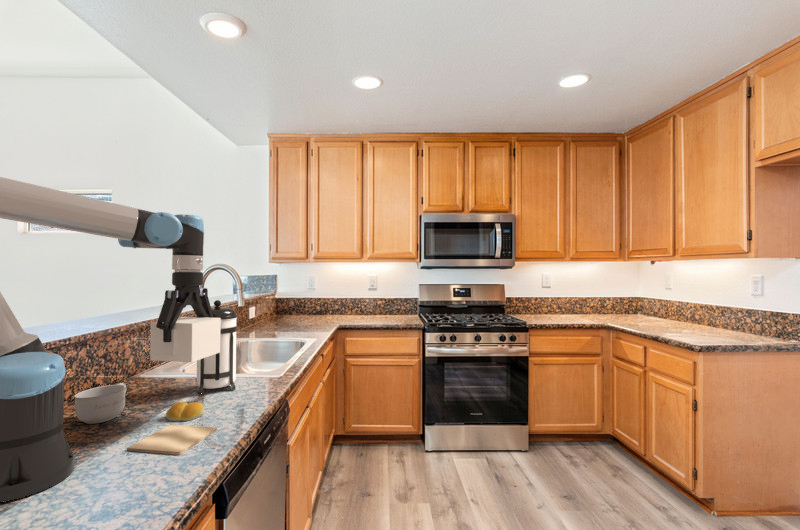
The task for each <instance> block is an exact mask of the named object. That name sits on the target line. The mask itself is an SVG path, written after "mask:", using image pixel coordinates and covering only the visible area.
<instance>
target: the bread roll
mask: <svg viewBox="0 0 800 530" xmlns="http://www.w3.org/2000/svg"><path fill="white" fill-rule="evenodd" d="M204 413H205V406H204V404H203V403H201V402H198V401H197V402H196V401H195V402H193V401H192V402H189V403H187V402H185V401H177V402H175V403H174V404H172V405H171V406H170V407H169V409H167V410H166V413H165V417H166V419H167V420H168V421H170V420H171V422H181V421H183V422H187V421H188V420H189V421H192V419H193V420H195V419H198V418H200V417H202V416H203V415H204Z"/></svg>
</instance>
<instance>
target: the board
mask: <svg viewBox="0 0 800 530" xmlns="http://www.w3.org/2000/svg"><path fill="white" fill-rule="evenodd" d="M216 431H218V427H216V426H215V427H214V426H213V427H212V426H199V425H187V424H186V425H184V424H172V423H171V424H169V425H167V426H165V427H163V428H161V429H159V430H158V431H156V432H154V433H152V434H150V435H148V436H147V437H144V438H143V439H141V440H139V441H137V442H135V443H134V444H132V445H130V446H129V447H127V448H126V451H127V452H128V451H130V452H141V453H154V454H163V455H164V454H165V455H174V456H175V455H178V456H180V455H182V454H183V453H185V452H187V451H188V450H190V449H191V448H192V447H194V446H196V445H197V444H198V443H200V442H202V441H203V440H204V439H206V438H207V437H209V436H211V434H213V433H215V432H216Z"/></svg>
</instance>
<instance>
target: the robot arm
mask: <svg viewBox="0 0 800 530" xmlns="http://www.w3.org/2000/svg"><path fill="white" fill-rule="evenodd" d="M0 219H2V220H3V219H4V220H8V221H13V222H21V223H25V224H31V225H37V226H43V227H48V228H55V229H61V230H64V231H65V230H66V231H71V232H76V233H83V234H89V235H95V236H100V237H105V238H112V239H116V240H117V242H118V244H119V245H120V246H121V247H123V248H132V249H165V250H172V253H171V254H172V258H171V260H172V262H171V269H172V270H173V272H172V273H171V285H173V286H174V290H172V289H171V290H169V289H168V290H165V292H164V301H163V302H162V303H163V304H162V306H161V309H160V313H159V316H158V319H157V320H156V321H157V324H156V327H157V328H159V329H163V342H164V354H165V355H175V352H176V329H173V328H174V326H175V323H176V322H177V320H178V318H180V316H181V313H182V312H183V310H184V308H186V307H187V306H191V308H192V309H193V311H194V313H195V315H196V316H197V317H208V318H213V313H212V310H211V308H212V306H211V304H210V299H209V295H208V294H209V292H208V288H206V287H200V286H203V284H204V273H203V272H202V271H203V269H204V244H205V237H204V236H205V227H204V226H205V225H204V219H203V218H202V217H201V216H199V215H194V214H172V213H170V212H163V211H160V212H159V211H158V212H157V211H156V212H154V211H149V210H144V209H141V208H136V207H131V206H127V205H123V204H120V203H115V202H109V201H105V200H102V199H96V198H93V197H88V196H85V195H81V194H75V193H71V192H67V191H63V190H59V189H54V188H50V187H46V186H41V185H36V184H32V183H28V182H25V181H21V180H19V181H18V180H15V179H11V178H6V177H3V176H0ZM13 312H14V311H12V308H11V307H10V306H9V304H8V302H7V300H6V299H5V297H4V295H3V294H2V292H1V291H0V502H3V501H8V500H13V501H15V500H14V499H17V500H20V499H24V498H26V497H25V496H27V497H29V495H30V496H32V495H35V494H37V492H38V493H40V492H43V491H45V490H47V489H50V488H51V486H52V487H53V485H54V486H55V484H56V485H57V484H59V483H61V482H62V481H64V480H66V479H67V478H68V477H69V476H71V475H72V474H73V472H74V470H75V456H74V453H73V452H72V449H71V446H70V443H69V441H68V440H67V437H66V434H65V432H64V405H65V402H64V401H65V399H64V398H65V376H66V371H67V369H66V366H65V360H64V358H63V357H62V356H61V355H60V354H57V353H54V352H48V351H47V349H46V347H45V346H44V344H43V342H42V341H41V339H40V337H39V336H38V335H36V334H33V333H28V332H25V330H24V329H23V327H22V325H21V324H20V322H19V320H18V319H17V317H16V316H15V314H14V313H13ZM207 314H208V315H207ZM162 322H164V323H162ZM169 324H170V325H169ZM66 477H67V478H66ZM49 487H50V488H49ZM44 489H45V490H44ZM42 490H43V491H42ZM31 494H32V495H31ZM19 498H20V499H19Z"/></svg>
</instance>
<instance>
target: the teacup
mask: <svg viewBox="0 0 800 530" xmlns="http://www.w3.org/2000/svg"><path fill="white" fill-rule="evenodd" d="M126 393H127V385H126V383H124V382H120V383H117V384H109V385H102V386H101V385H100V386H97V387H92V388H89V389H86V390H85V389H84V390H82V391H79V392H78V393H76V394H74V396H73V398H74V404H75V414H76V417H77V419H78V420H79V421H81V422H83V423H85V424H88V425H93V424H100V423H104V422H108V421H111V420H113V419H115V418H116V417H118V416H119V414H120V413H122V412H123V410H124V409H125V408H126V406H125V405H126Z"/></svg>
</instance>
